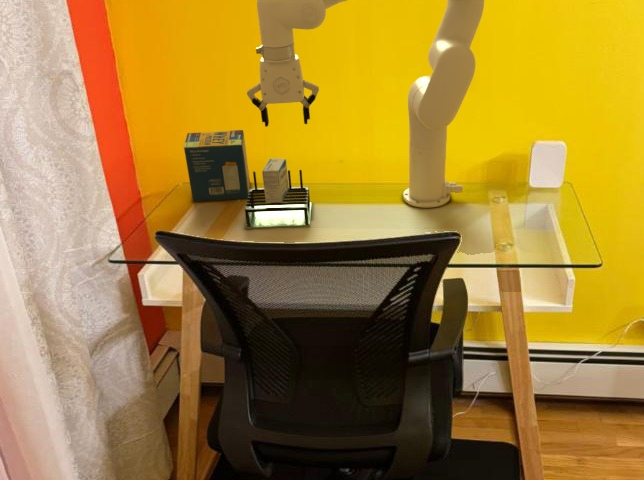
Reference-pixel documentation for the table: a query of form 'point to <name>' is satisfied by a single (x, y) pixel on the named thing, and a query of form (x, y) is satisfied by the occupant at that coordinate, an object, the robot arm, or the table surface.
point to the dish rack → (278, 208)
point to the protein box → (217, 165)
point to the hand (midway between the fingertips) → (286, 123)
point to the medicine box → (275, 180)
